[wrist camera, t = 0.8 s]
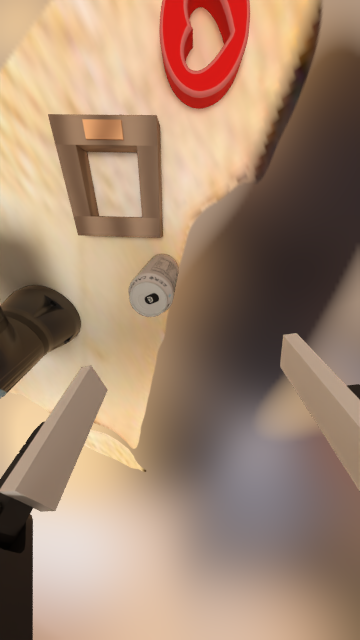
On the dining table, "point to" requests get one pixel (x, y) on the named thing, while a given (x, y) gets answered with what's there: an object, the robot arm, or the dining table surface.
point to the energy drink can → (154, 286)
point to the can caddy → (110, 136)
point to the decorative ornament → (177, 40)
